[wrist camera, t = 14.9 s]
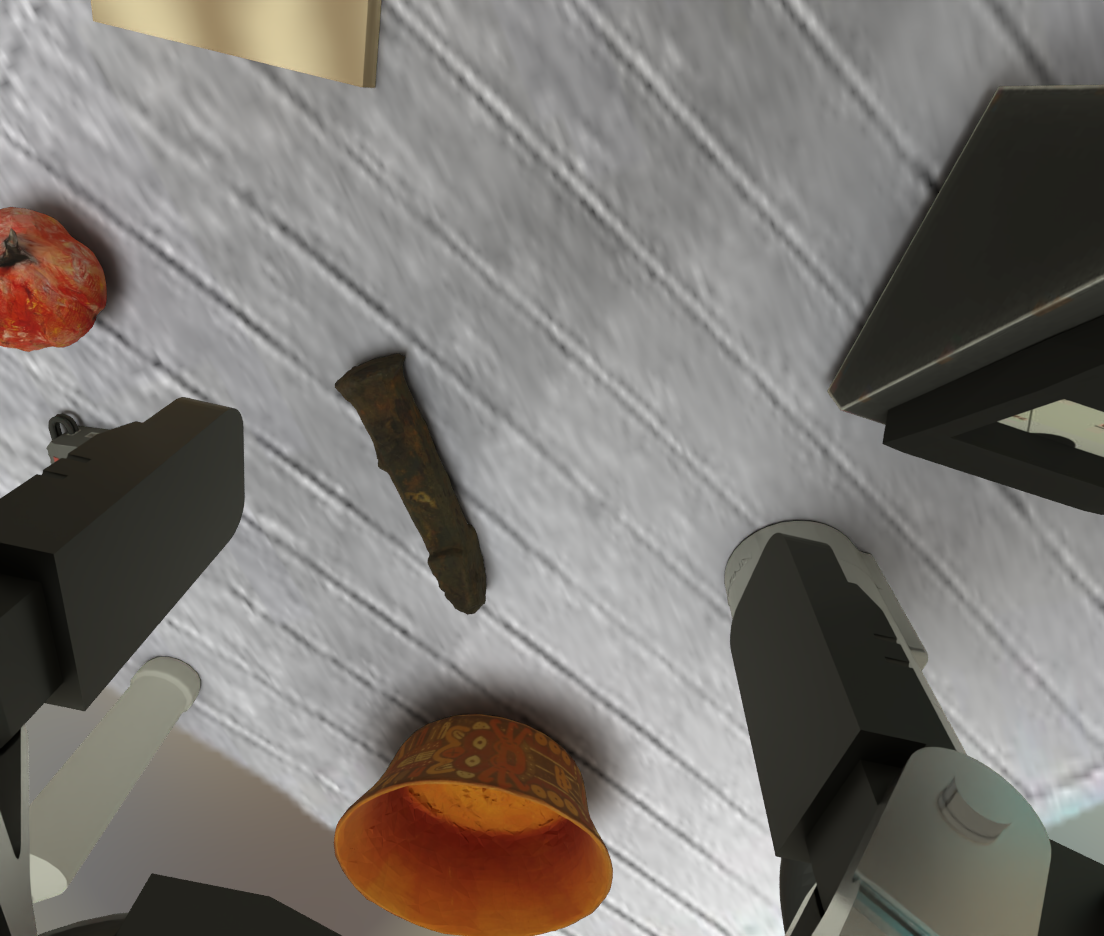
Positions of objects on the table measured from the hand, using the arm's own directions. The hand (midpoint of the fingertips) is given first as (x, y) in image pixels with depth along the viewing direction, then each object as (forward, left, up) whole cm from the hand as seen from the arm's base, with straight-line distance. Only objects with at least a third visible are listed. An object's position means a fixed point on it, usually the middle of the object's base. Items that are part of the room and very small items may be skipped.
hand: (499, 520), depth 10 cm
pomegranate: (+29, +10, -30) cm, 43 cm away
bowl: (-3, +46, -30) cm, 55 cm away
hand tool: (+5, +19, -31) cm, 36 cm away
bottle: (+25, +44, -30) cm, 59 cm away
